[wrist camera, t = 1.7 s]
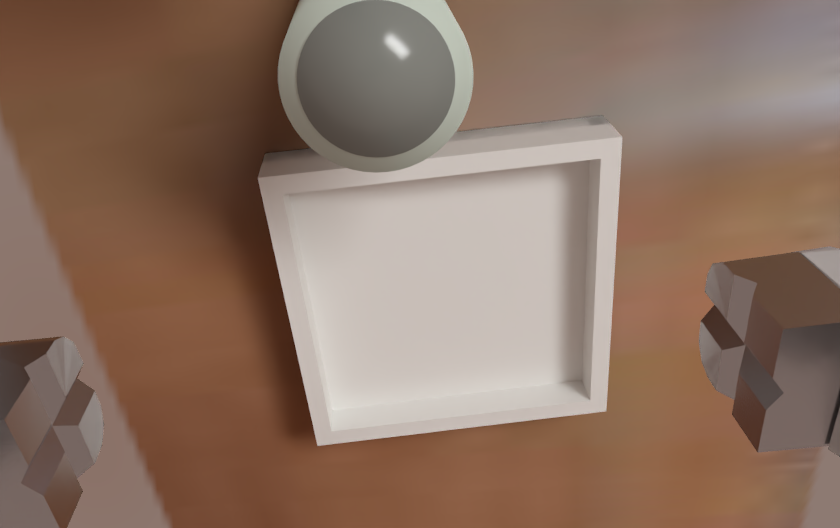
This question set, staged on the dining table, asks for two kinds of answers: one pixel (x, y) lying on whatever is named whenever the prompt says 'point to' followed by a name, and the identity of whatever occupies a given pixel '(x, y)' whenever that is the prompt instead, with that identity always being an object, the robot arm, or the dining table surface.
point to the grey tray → (451, 279)
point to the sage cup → (375, 80)
